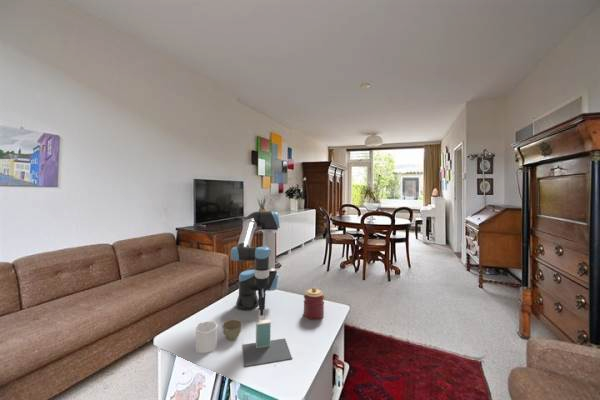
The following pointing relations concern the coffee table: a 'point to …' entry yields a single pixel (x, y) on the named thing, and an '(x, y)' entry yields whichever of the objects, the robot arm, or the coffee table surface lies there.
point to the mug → (206, 337)
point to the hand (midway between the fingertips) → (261, 320)
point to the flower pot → (232, 329)
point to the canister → (313, 304)
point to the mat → (266, 353)
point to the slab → (263, 333)
